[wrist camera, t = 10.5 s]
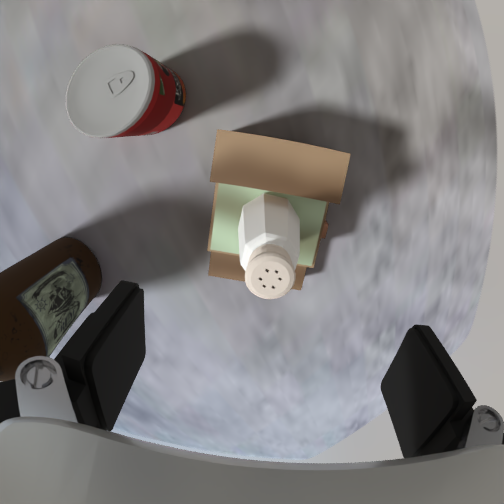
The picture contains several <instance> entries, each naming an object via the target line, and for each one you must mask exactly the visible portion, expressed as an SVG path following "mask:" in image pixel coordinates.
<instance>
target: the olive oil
mask: <svg viewBox="0 0 504 504" xmlns="http://www.w3.org/2000/svg"><path fill="white" fill-rule="evenodd" d="M101 279H102V278H101V270H100V267H99V264H98V262H97V259H96V258H95V256H94V254H93V253H92V252H91V250H90V249H89V248H88V247H87V246H86V245H84V244H83V243H82V242H80V241H78V240H76V239H73V238H68V237H65V238H60V239H58V240H56V241H54V242H52V243H50V244H49V245H47V246H45V247H44V248H42V249H40V250H39V251H37V252H35V253H33V254H32V255H30V256H28V257H26V258H25V259H23V260H21V261H19V262H18V263H16V264H14V265H13V266H11V267H9V268H7V269H6V270H4V271H2V272H1V273H0V381H8V380H12V379H15V374H16V370H17V368H18V366H19V365H20V364H21V363H22V362H23V361H25V360H27V359H28V358H31V357H35V356H45V357H50V355H51V354H52V352H53V351H54V349H55V348H56V346H57V345H58V343H59V342H60V341H61V339H62V338H63V336H64V335H65V334H66V332H67V331H68V330H69V328H70V327H71V326H72V324H73V323H74V322H75V320H76V319H77V318H78V317H79V315H80V314H81V313H82V312H83V310H84V309H85V308H86V307H87V305H88V304H89V303H90V302H91V301H92V299H93V298H94V297H95V296H96V295H97V293H98V291H99V289H100V286H101Z"/></svg>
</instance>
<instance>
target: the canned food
mask: <svg viewBox="0 0 504 504" xmlns="http://www.w3.org/2000/svg"><path fill="white" fill-rule="evenodd" d="M185 98H186V92H185V87H184V84H183V81H182V80H181V78H180V77H179V76H178V75H177V74H176V73H175V72H174V71H172V70H171V69H169V68H168V67H166V66H165V65H163V64H162V63H160V62H159V61H157V60H156V59H154V58H152V57H151V56H149V55H148V54H146V53H144V52H142V51H140V50H139V49H137V48H135V47H131V46H128V45H124V44H114V45H109V46H105V47H102V48H100V49H98V50H96V51H94V52H93V53H91V54H90V55H89V56H87V57H86V58H85V59H84V60H83V61H82V62H81V63H80V64H79V66H78V67H77V68H76V70H75V71H74V73H73V75H72V77H71V79H70V81H69V84H68V87H67V91H66V101H65V102H66V111H67V114H68V117H69V119H70V121H71V123H72V125H73V126H74V127H75V128H76V129H77V130H78V131H80V132H81V133H82V134H84V135H87V136H90V137H96V138H112V137H125V136H139V135H152V134H156V133H159V132H161V131H163V130H165V129H167V128H168V127H170V126H171V125H172V124H173V123H174V122H175V121H176V120H177V118H178V117H179V116H180V114H181V112H182V110H183V107H184V104H185Z"/></svg>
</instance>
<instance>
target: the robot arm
mask: <svg viewBox="0 0 504 504" xmlns="http://www.w3.org/2000/svg"><path fill="white" fill-rule="evenodd" d="M145 353H146V347H145V324H144V291H143V289H140V288H139V285H138V284H137V283H132V282H128V281H121V282H120V283H119V284H118V285H117V286H116V287H115V288H114V290H113V291H112V292H111V293H110V294H109V296H108V297H107V298H106V299H105V300H104V302H103V303H102V304H101V305H100V306H99V308H98V309H97V310H96V311H95V312H94V313H91V314H90V315H89V316H88V317H87V318H86V320H85V321H84V322H83V323H82V325H81V326H80V327H79V328H78V330H77V331H76V332H75V333H74V335H73V336H72V337H71V338H70V340H69V341H68V342H67V343H66V345H65V346H64V347H63V349H62V350H61V351H60V352H59V354H58V355H57V356H56V358H55V359H52V358H50V357H45V356H35V357H31V358H28V359H27V360H25V361H23V362H22V363H21V364H20V365H19V366H18V368H17V370H16V374H15V379H12V380H8V381H4V382H0V504H504V433H503V432H504V422H503V419H502V417H501V416H500V414H499V413H498V412H497V411H496V410H494V409H493V408H491V407H489V406H486V405H481V406H478V407H477V408H476V409H475V410H473V408H472V406H473V405H474V404H475V402H476V398H475V396H474V395H473V393H472V391H471V390H470V388H469V387H468V385H467V383H466V381H465V380H464V378H463V377H462V375H461V373H460V372H459V370H458V368H457V367H456V366H455V364H454V362H453V361H452V359H451V358H450V356H449V354H448V353H447V351H446V350H445V348H444V347H443V345H442V344H441V342H440V341H439V339H438V338H437V336H436V335H435V333H434V332H433V331H432V329H431V328H430V327H429V326H426V325H414V326H413V327H412V328H410V329H409V330H408V331H407V333H406V335H405V337H404V340H403V342H402V344H401V346H400V348H399V350H398V352H397V354H396V356H395V358H394V359H393V361H392V363H391V365H390V367H389V369H388V371H387V373H386V375H385V376H384V378H383V380H382V382H381V391H382V394H383V397H384V400H385V402H386V405H387V408H388V411H389V414H390V417H391V420H392V423H393V426H394V429H395V432H396V435H397V438H398V441H399V444H400V447H401V451H402V454H403V457H404V459H396V460H385V461H374V462H359V463H330V464H328V463H327V464H317V463H316V464H315V463H313V464H312V463H284V462H269V461H257V460H247V459H238V458H230V457H222V456H216V455H209V454H204V453H198V452H192V451H187V450H182V449H178V448H173V447H168V446H163V445H159V444H155V443H151V442H146V441H142V440H139V439H135V438H131V437H127V436H124V435H120V434H117V433H113V432H110V431H111V430H112V429H113V427H114V424H115V422H116V420H117V418H118V415H119V413H120V411H121V409H122V406H123V404H124V402H125V400H126V397H127V395H128V393H129V391H130V389H131V386H132V384H133V382H134V380H135V378H136V376H137V373H138V371H139V369H140V367H141V365H142V363H143V361H144V358H145Z"/></svg>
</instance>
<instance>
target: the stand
mask: <svg viewBox="0 0 504 504" xmlns="http://www.w3.org/2000/svg"><path fill="white" fill-rule="evenodd" d="M349 159H350V154H349V153H345V152H341V151H336V150H332V149H328V148H323V147H319V146H314V145H309V144H304V143H299V142H294V141H289V140H284V139H278V138H272V137H266V136H260V135H254V134H248V133H241V132H234V131H226V130H218V129H217V135H216V142H215V149H214V156H213V163H212V170H211V177H210V182H216V185H215V193H214V200H213V208H212V216H211V224H210V232H209V240H208V249H207V251H211V256H210V265H209V274H208V275H209V276H215V277H221V278H227V279H233V280H239V281H245V270H244V269H243V267H242V266H241V264H240V255H239V238H238V226H239V221H240V217H241V212H242V208H243V205H245V204H247V203H248V202H250V201H252V200H253V199H255V198H257V197H258V196H260V195H262V194H263V193H265V194H269V195H274V196H278V197H282V198H286V199H288V200H289V202H290V204H291V205H292V207H293V209H294V210H295V212H296V214H297V215H298V217H299V219H300V254H299V259H298V262H297V265H296V269H295V273H296V276H295V282H294V285H293V287H292V288H291V289H296V290H301V288H302V284H303V280H304V276H305V272H306V268H307V267H309V268H314V264H315V260H316V256H317V252H318V248H319V244H320V240H321V238H324V239H325V237H326V233H327V229H328V225H329V224H328V223H327V221H326V220H325V219H326V214H327V210H328V206H329V202H330V203H335V204H340V201H341V197H342V192H343V188H344V183H345V178H346V174H347V169H348V164H349Z"/></svg>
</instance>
